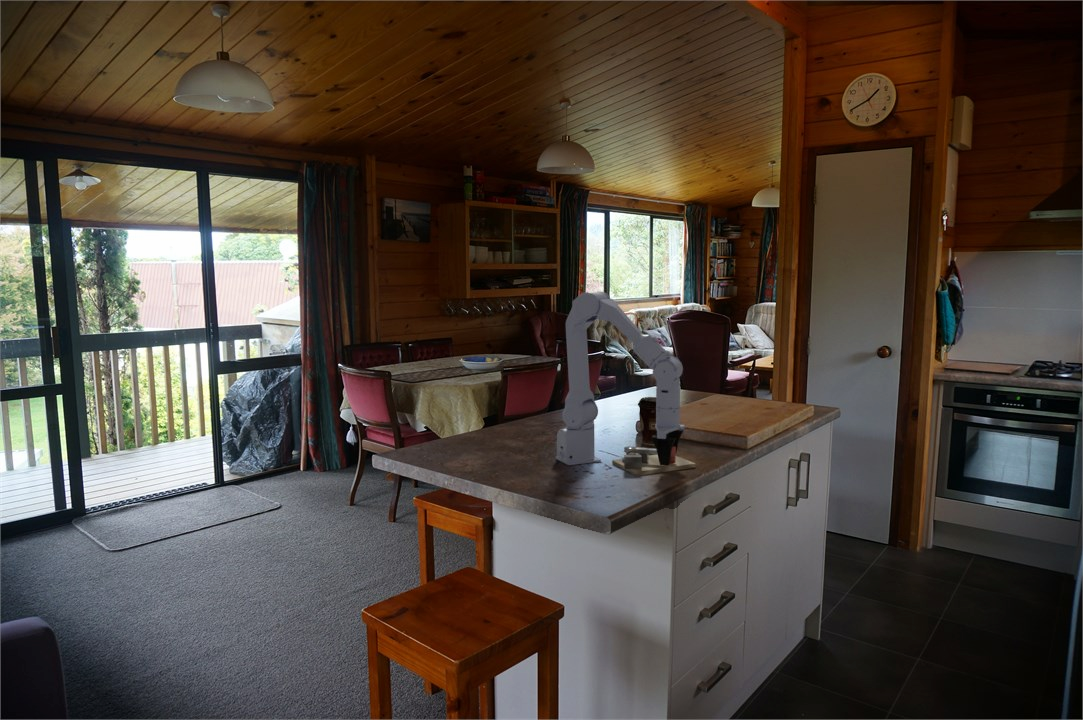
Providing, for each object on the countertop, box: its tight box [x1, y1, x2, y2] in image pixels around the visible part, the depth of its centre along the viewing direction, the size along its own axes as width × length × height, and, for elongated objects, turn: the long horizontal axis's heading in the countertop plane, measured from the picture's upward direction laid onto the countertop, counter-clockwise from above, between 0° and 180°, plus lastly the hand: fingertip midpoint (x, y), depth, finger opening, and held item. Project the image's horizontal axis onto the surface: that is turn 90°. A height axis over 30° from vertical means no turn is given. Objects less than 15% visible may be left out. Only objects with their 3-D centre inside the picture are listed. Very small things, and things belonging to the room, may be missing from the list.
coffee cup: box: [637, 396, 657, 447], centre depth 201 cm, size 9×8×13 cm
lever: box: [623, 445, 677, 464], centre depth 177 cm, size 13×3×4 cm, turn 72°
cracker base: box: [611, 453, 697, 477], centre depth 177 cm, size 18×12×4 cm, turn 113°
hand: (667, 461), depth 173 cm, fingers open, 6 cm apart
